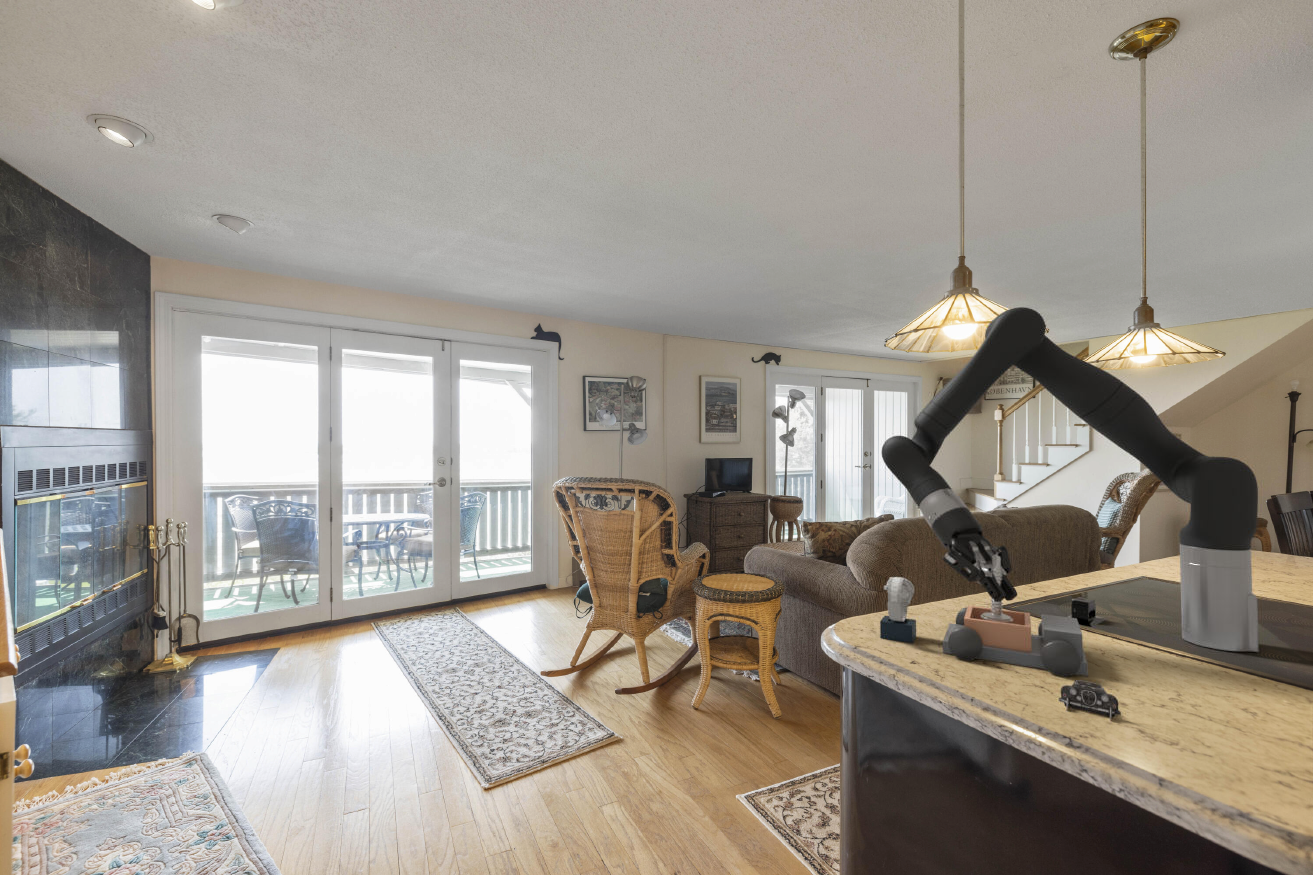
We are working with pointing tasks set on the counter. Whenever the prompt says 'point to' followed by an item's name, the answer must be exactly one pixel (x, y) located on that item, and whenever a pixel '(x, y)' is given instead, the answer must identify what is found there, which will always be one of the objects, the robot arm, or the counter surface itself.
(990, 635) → the toy chassis
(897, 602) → the bust statue
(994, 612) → the screw
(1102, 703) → the car cutout
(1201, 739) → the counter surface
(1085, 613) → the black boxy piece
